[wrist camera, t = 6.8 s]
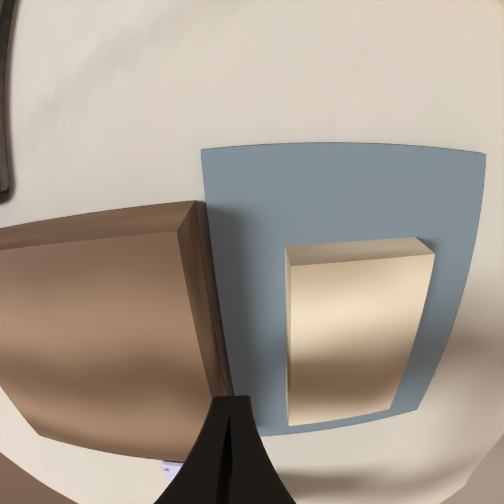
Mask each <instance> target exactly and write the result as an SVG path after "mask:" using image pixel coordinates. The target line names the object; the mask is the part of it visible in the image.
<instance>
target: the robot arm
mask: <svg viewBox="0 0 504 504" xmlns="http://www.w3.org/2000/svg"><path fill="white" fill-rule="evenodd" d="M160 467H161V468H162V470H163V471H164V472H165V474H166V475H167V476H168V478H169V479H170V480H171V483H170V484H169V486H168V487H167V488H166V489H165V491H164V492H163V493H162V495H161V496H160V497H159V498H158V499H157V500H156V502H155V503H154V504H296V503H295V501H294V500H293V498H292V497H291V496H290V494H289V493H288V491H287V489H286V488H285V486H284V485H283V483H282V481H281V480H280V478H279V476H278V475H277V473H276V471H275V469H274V467H273V465H272V463H271V461H270V459H269V457H268V455H267V453H266V451H265V448H264V446H263V443H262V441H261V438H260V436H259V433H258V430H257V427H256V424H255V421H254V417H253V413H252V405H251V397H250V396H248V395H238V396H215V397H213V398H212V402H211V405H210V408H209V411H208V414H207V417H206V419H205V422H204V424H203V426H202V429H201V431H200V433H199V435H198V437H197V439H196V442H195V444H194V446H193V447H192V449H191V451H190V453H189V455H188V456H187V458H186V460H185V462H184V463H174V462H161V463H160Z"/></svg>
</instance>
